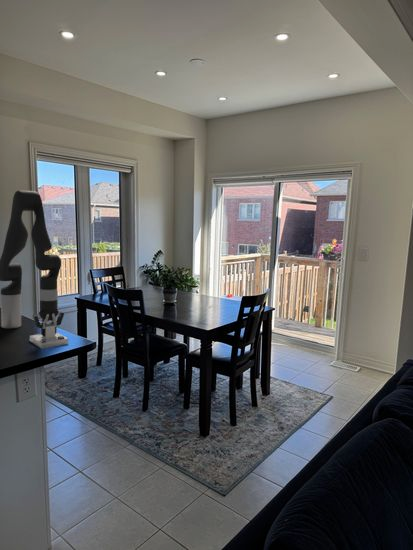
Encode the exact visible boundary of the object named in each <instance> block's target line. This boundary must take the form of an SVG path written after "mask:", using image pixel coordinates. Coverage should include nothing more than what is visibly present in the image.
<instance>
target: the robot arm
mask: <svg viewBox="0 0 413 550" xmlns="http://www.w3.org/2000/svg"><path fill="white" fill-rule="evenodd" d="M43 205H44V204H43V201H42V197H41V194H40V193H39V192H37V191H36V190H35V191H34V190H24V189H23V190H21V189H19V190H16V191H15V192H14V194H13V198H12V204H11V212H10V220H9V223H8V227H7V232H6V234H5V240H4V244H3V250H2V252H1V256H0V282H10V284H9V285H7V286H4V287H2V288H1V290H0V311H1V312H0V313H1V314H0V316H1V317H0V319H1V321H0V323H1V328H2V329H17V328H20V327H22V296H21V295H22V282H23V281H22V279H23V269H22V266H21V264H20V263H19V262H12V261H13V259H14V258H16V256H18V255H19V254H20V253H21V252H22V251H23V250H24V249H25V247H26V245H27V241H28V238H29V232H28V230H27V227H26V226H25V224H24V222H23V219H22V215H23V213H24V212H33V214H34V216H35V218H34V223H33V225H32V229H31V233H30V234H31V239H32V242H33V245H34V250H35V266H36V268H37V269H38V270H39V271H41V272H42V271H48V272H47V273H46V274H45V275H42V276H41V277H40V279H39V288H40V290H39V312H38V313H37V314H33V315H32V319H33V321H34V324H35V326H36V327H37V328H38V329H40V334H41V335H42V336H43V337H45V327H46V326H45V325H46V324H47V323H48V322H52V323H54V324H55V334H56V332H57V328H58V327H59V326H61V324H62V322H63V319H64V317H65V313H64V312H62V311H59V310H58V308H59V307H58V299H59V297H58V294H59V293H58V278H59V274H60V270H61V268H62V267H61V266H62V260H61V257H60V256H59V255H58V254H46V252H49V251H50V250H51V249H52V247H53V245H52V243H51V239H50V237H49V234H48V230H47V225H46V218H45V212H44V211H45V210H44V206H43ZM56 317H57V319H56ZM40 318H41V320H40ZM40 321H41V322H40Z"/></svg>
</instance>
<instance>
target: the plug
mask: <svg viewBox="0 0 413 550" xmlns="http://www.w3.org/2000/svg"><path fill="white" fill-rule="evenodd" d="M45 326H46V327H45V337H43V339H45V340H46V339H52V338H55V324H54V323H52V322H51V321H47V324H46V325H45Z"/></svg>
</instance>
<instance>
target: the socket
mask: <svg viewBox="0 0 413 550" xmlns="http://www.w3.org/2000/svg"><path fill="white" fill-rule="evenodd" d="M29 342H30V343H32V344H34V345H35V346H37V347H38V348H40V349H41V350H43V349H44V350H45V349H49V348H53V347H59V346H64V345H69V338H68V337H67V336H65V335H63V334H60V333H59V332H58V331H56V334H55V338H52V339H46V340H45V339H43V336H42V335H41V333H39V334H33V335H29Z"/></svg>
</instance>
